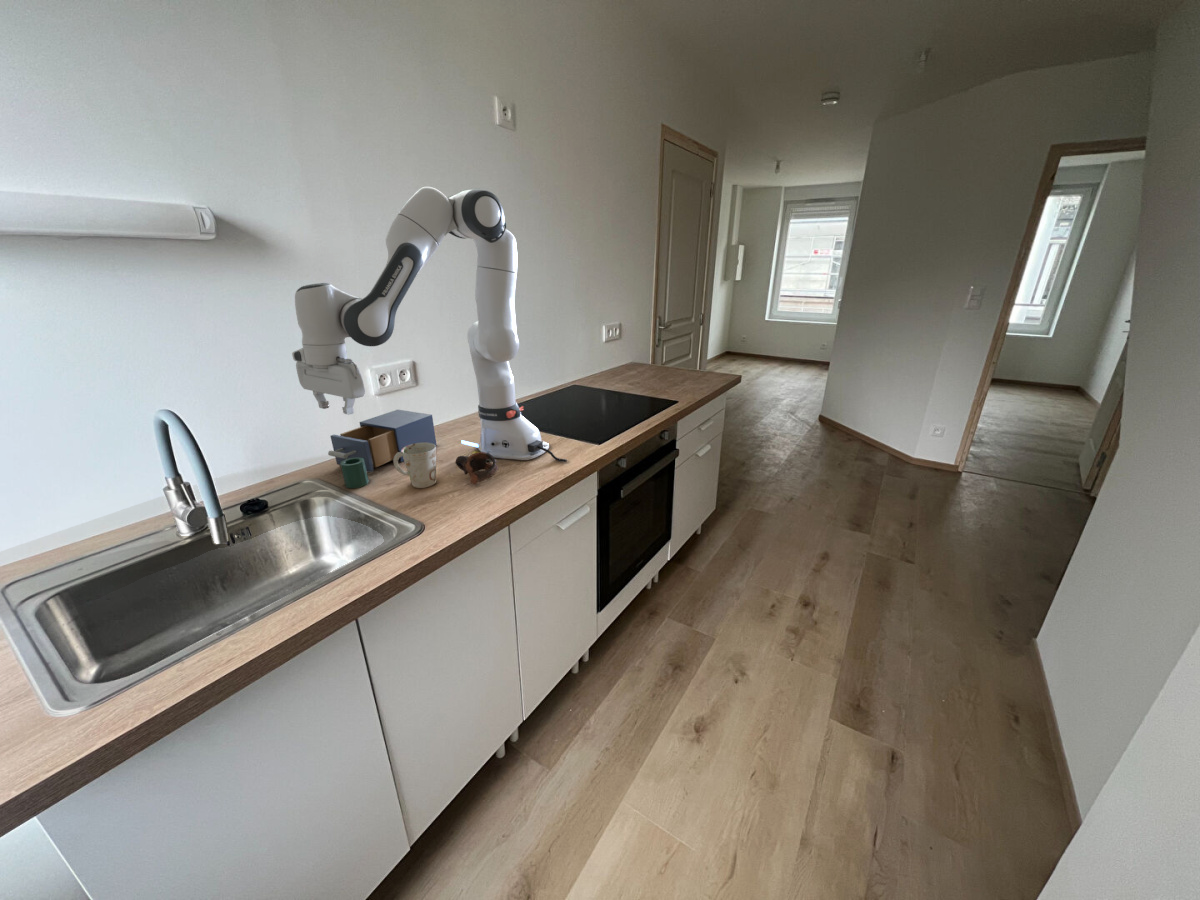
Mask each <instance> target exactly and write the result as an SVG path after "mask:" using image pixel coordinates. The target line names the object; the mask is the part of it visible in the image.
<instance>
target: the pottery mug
mask: <svg viewBox="0 0 1200 900" xmlns="http://www.w3.org/2000/svg"><path fill="white" fill-rule="evenodd" d="M488 459H490V461H491V463H492V464H491V463H489V462H487V460H488ZM455 464H456V466H457V467H458V468H459V469H460V470H462V471H463V473H464V475H469V476H470V480H469V482H470V484H472V485H474V486H476V485H477V484H478V483H480V482H483V481H486V480H489V479H491V478H492V477H493V476H494V475H495V474H496V472H497V471H498V470H500V469H499V467H498V465H497V460H496V458H494V457H493V456H492V455H491V454H489V453H485V452H481V451H476V452H474V453H472V454H470V455H469V456H465V455H459V456H457V457H456V459H455Z"/></svg>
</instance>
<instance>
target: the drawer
mask: <svg viewBox="0 0 1200 900" xmlns="http://www.w3.org/2000/svg"><path fill="white" fill-rule="evenodd" d="M329 438H330V441H331V444H332V449H333V450H329V451H327V455H328V456H331V457H334V458H335V462H336V465H337V466H341V464H340V463H341V462H342V461H343V460H346V459H349V458H356V457H360V458H363V459H364V461H365V466H366V471H367V473H368V472H369V473H372V472H374V471H375V468H378V467H381V466H383V465H385V464H387V463H389V462H391V461H393V460H394V456H395V455H396V454H397V453H398V450H397V445H396V439H395V434H394V430H388V429H383V428H377V427H371V426H362V427H360V426H359V427H357V428H354V429H351V430H347V431H345V432H341V433H340V434H331V435H330V437H329Z"/></svg>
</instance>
